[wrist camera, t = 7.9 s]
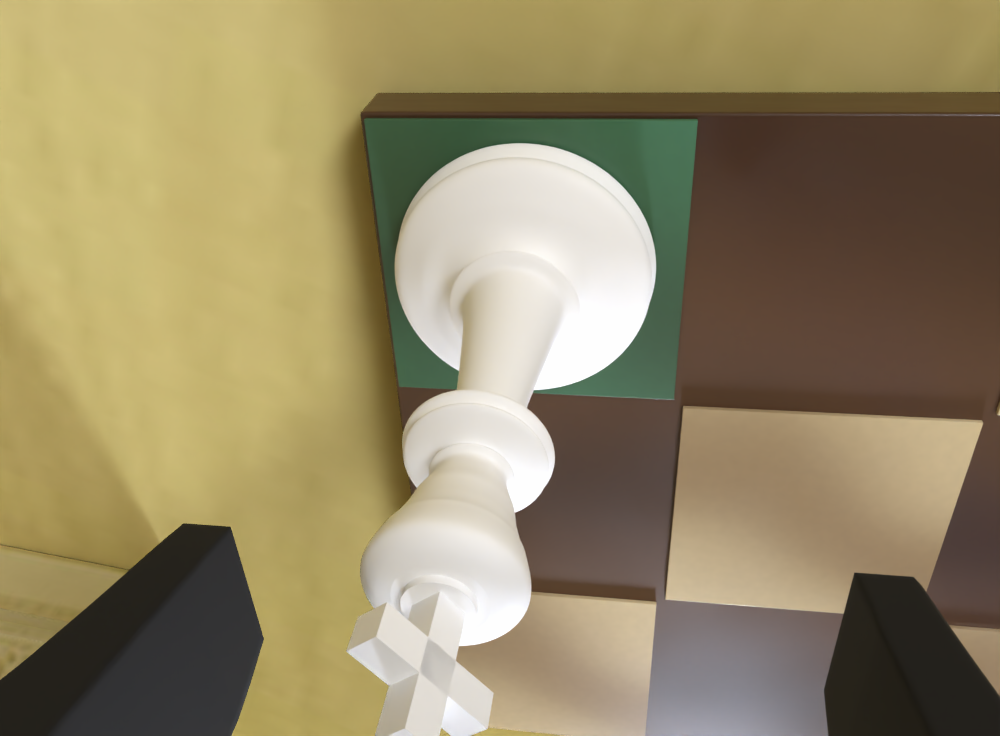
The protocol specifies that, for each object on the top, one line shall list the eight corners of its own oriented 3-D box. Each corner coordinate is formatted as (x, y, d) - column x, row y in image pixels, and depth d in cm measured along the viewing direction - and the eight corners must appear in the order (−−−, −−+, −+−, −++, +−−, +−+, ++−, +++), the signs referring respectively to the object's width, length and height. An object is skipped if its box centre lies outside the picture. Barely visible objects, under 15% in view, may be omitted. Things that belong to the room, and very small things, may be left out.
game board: (1089, 748, 24) (1109, 793, 23) (448, 686, 26) (440, 724, 25) (1467, 90, 14) (1536, 116, 13) (376, 92, 16) (357, 113, 15)
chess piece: (508, 411, 19) (399, 913, 10) (346, 243, 17) (60, 685, 9) (707, 293, 16) (769, 812, 8) (544, 84, 15) (412, 476, 6)
